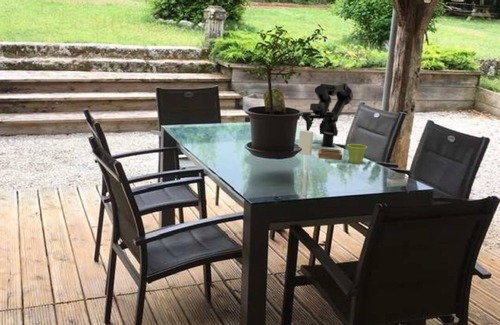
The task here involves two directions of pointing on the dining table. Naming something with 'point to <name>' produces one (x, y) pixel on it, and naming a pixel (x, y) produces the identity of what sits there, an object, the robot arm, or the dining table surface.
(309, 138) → the cream rectangular block
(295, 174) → the dining table surface
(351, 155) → the plant pot
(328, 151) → the box
